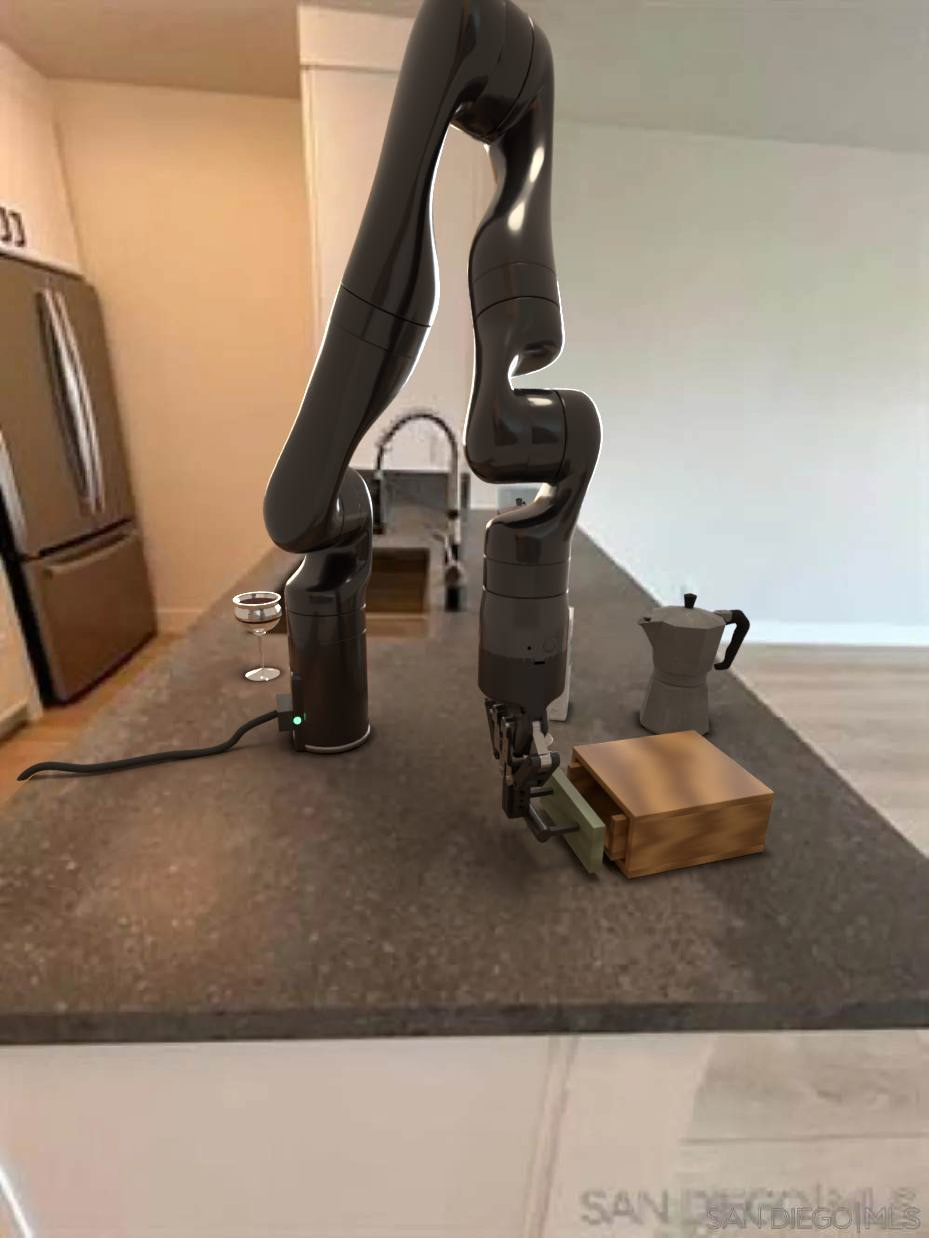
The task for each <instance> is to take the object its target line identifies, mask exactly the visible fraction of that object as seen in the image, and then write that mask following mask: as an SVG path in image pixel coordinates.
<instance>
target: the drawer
mask: <svg viewBox="0 0 929 1238" xmlns="http://www.w3.org/2000/svg"><path fill="white" fill-rule="evenodd" d="M566 767H567V768H566V775H565V773H564V772H563V771H562V770H561V768H560V767H559V766H558V768H557V769H556V770H555V771H554V773H553V774H552V775H551V777H550V778H549V779H548V780H547V782H546V783H545V784H544V785H543V786H542V787H539V788H535V789H534V788H533V789H531V792H530V799H534V798H539V803H540V805H541V806H542V808H543V809H544V811H545V812H546V814H547V815H548V816H549V818H550V819H551V821H552V822H553V823H554V826H547V825H546V823H545V822H544V820H543V818H542V817H541V815H540V814H539V813H538V811H537V809H536V808H535V807H534V805H533V803H532V802H531V801H530V811H529V814H528V815H527V816H525V817H522V819H523V820H524V822H525V823H526V825H527V827H528V828H529V830H530V831H531V833H532V835H533V836H534V838H535V839H536V841H537V842H538V843H540V844H545V843H547V842H548V841H550V839H551V837H553V836H554V837H555V836H560V835H562V836H563V838H564V840H565V841H566V842H567V844H568V845H569V847H570V848H571V849H572V851H573V852H574V854H575V855H576V857H577V858H578V859H579V861H580V863H581V865H583V867H584V868H585V870H586V871H587V873H588V874H594V873H600V872H602V867H603V858H604V853H605V855H606V856H607V857H608V859H609V860H610V861H614V860H618V859H623V858H626V850H627V841H628V833H629V824H630V818H629V817H628V816H627V815H626V814H625V813H624V812H623V810H622V809H621V808H620V807H619V806H618V805H617V804H616V802H615V801H614V800H613V799H612V798H611V797H610V796H609V794H608V793H607V792H606V791H605V790H604V789H603V788H602V786H601V785H600V784H599V783H598V782H597V781H596V780H595V778H594V777H593V776H592V775H591V774H590V773H589V772H588V770H587V769H586V768H585V767H584V766H583V765H582V764H581V762H577V763H567V766H566Z"/></svg>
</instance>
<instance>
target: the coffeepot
mask: <svg viewBox="0 0 929 1238" xmlns="http://www.w3.org/2000/svg"><path fill="white" fill-rule="evenodd" d="M697 599H698V595H697V594H694V593H691V592H688V593H684V594H683V604H684V605H672V604H671V605H665V606H661V607H656V608H652V609H650V614H645V615H642V617H639V618H638V619H637V621H636V624H637V625H638V626H640V627H641V628H642V630H643V631H644V633H645V635H646V637H647V639H648V641H649V642H650V645H651V652H652V653H651V655H652V656H651V657H652V664H653V670H652V673H651V674H650V677H649V680H648V683H647V687H646V690H645V693H644V697H643V700H642V703H641V706H640V709H639V721H640V725H641V726H643V727H644V728H645V729H646V730H648V731H649V732H651V733H653V734H655V735H661V734H669V733H676V732H683V731H690V730H694V731H696V732H697V733H698V734H700V735H701V736H702V737H704V735H705V734H706V733H709V732H710V717H709V716H710V715H709V689H708V688H709V687H708V681H707V679H708V673H709V672H711V671H712V669H713V668H714V670H715V671H725V670H729V669H730V668H731V666H732V664H733V662H734V660H735V658H736V657H737V655H738V652H739V651H740V648H741V645H742V644H743V642H744V640H745V638H746V636H747V634H748V633H749V630H750V627H751V623H750V619H749V618H748V616H746V614H745V613H744V611H743V610H741V609H739V608H737V609H716V610H714V611H710V610H707V609H704V608H702V607H701V608H700V607H698V606H695V604H696V601H697ZM734 624H735V628H734V630H733V633H732V635H731V639H730V642H729V644H728V645H727V647H726V649H725V652H724V658H723V660H722V661H721V662H717V663H714V662H715V659H716V656H717V653H718V651H719V648H720V644H721V641H722V638H723V636H724V632H725V629H726V626H729V625H730V626H731V625H734Z"/></svg>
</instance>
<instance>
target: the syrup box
mask: <svg viewBox="0 0 929 1238" xmlns="http://www.w3.org/2000/svg"><path fill="white" fill-rule="evenodd" d="M569 613H570V617H569V634H568V649H567V664H566V679H565V689H564V692H563V693H562V695H561V696H560V697H559V698H557V699H555V700H554V701H553V702H552V703H550V704H549V706H548V707H547V709H546V710H547V715H548V719H549V721H550V720H551V721H561V722H565V721H566V720H567V719H566V718H567V715H568V709H569V701H570V686H571V685H570V684H571V672H572V671H571V670H572V657H573V656H572V655H573V636H574V635H573V633H574V613H575V608H574V606H572V605H569Z"/></svg>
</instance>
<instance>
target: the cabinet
mask: <svg viewBox="0 0 929 1238" xmlns="http://www.w3.org/2000/svg"><path fill="white" fill-rule="evenodd" d="M577 762H581V764H582V765H583V766H584V767H585V768H586V769H587V770H588V772H589V773H590V774H591V775H592V776H593V777H594V778H595V780H596V781H597V782H598V783H599V784H600V785H601V786H602V788H603V789H604V790H605V791H606V792H607V793H608V794H609V796H610V797H611V798H612V799H613V800H614V801H615V802H616V804H617V805H618V806H619V807H620V808H621V809H622V810H623V812H624V813H625V814H626V815H627V816H628V817H629V818H630V824H629V833H628V841H627V850H626V858H623V859H618V860H613V862H614V863H615V865H616V866H617V867H618V868H619V869H620V871H621V872H622V874H623V875H624V876H625V877H626V879H628V880H630V879H634V878H635V879H636V878H639V877H645V876H650V875H654V874H659V873H664V872H665V873H666V872H669V871H673V870H674V871H675V870H678V869H679V870H680V869H684V868H689V867H694V866H699V865H703V864H708V863H709V864H710V863H713V862H718V861H723V860H728V859H729V860H730V859H734V858H738V857H743V856H747V855H752V854H753V855H754V854H759V853H762V852H764V848H765V842H766V837H767V833H768V827H769V822H770V817H771V812H772V806H773V801H774V797H775V792H774V791H773V790H772V789H770V788H769V787H768V786H767V785H765V783H763V782H762V781H761V780H759V779H758V778H756V777H755V776H754V775H753V774H751V773H750V772H748V771H747V770H746V769H745V768H744V767H742V766H741V765H740V764H739V763H737V762H736V761H735V760H734V759H732V758H731V757H729V756H728V755H727V754H725V753H724V752H723V751H722V750H721V749H719V748H718V747H717V746H715V745H714V744H712V743H711V742H710V741H709V740H708V739H706V738H705V737H704V736H701V735H700V734H698V733H697V732H696V731H694V730H690V731H683V732H676V733H669V734H661V735H658V734H655V735H648V736H641V737H634V738H626V739H619V740H611V741H605V742H603V741H602V742H598V743H597V742H596V743H590V744H583V745H574V746H572V752H571V763H577Z"/></svg>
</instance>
